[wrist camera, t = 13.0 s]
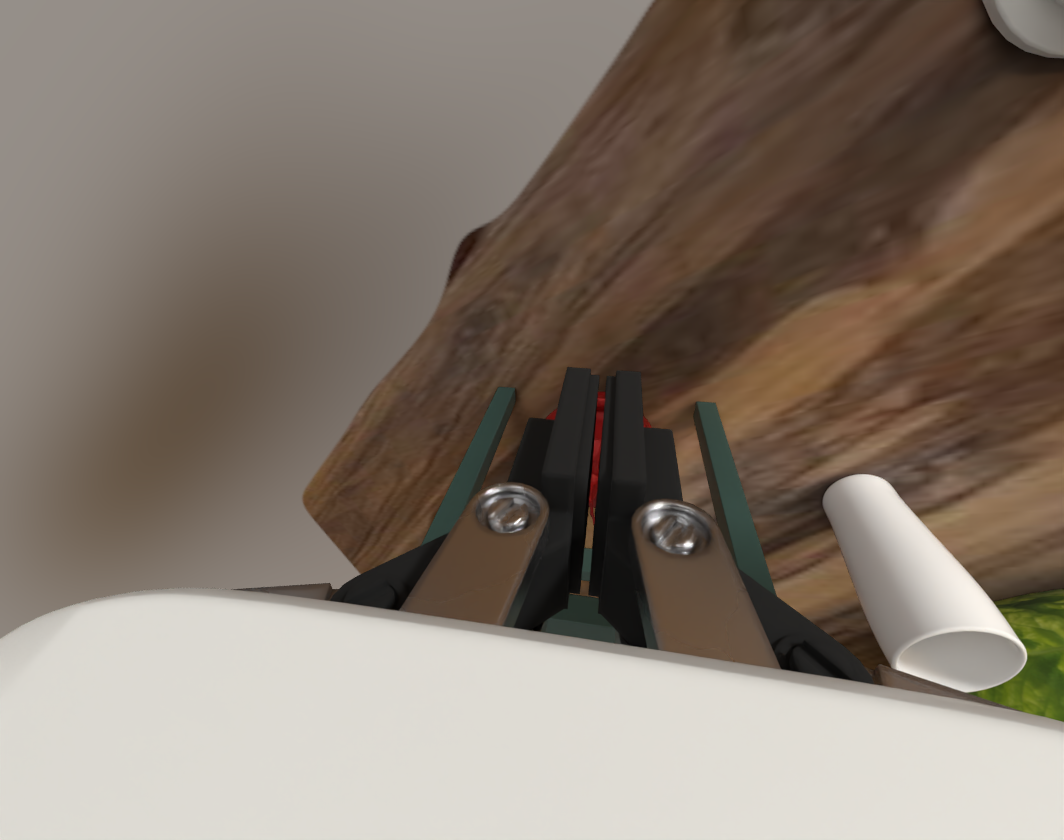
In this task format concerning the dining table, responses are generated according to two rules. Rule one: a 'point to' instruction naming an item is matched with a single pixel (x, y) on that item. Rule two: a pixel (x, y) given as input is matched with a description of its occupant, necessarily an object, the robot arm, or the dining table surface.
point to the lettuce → (1035, 655)
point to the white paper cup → (918, 591)
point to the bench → (583, 609)
